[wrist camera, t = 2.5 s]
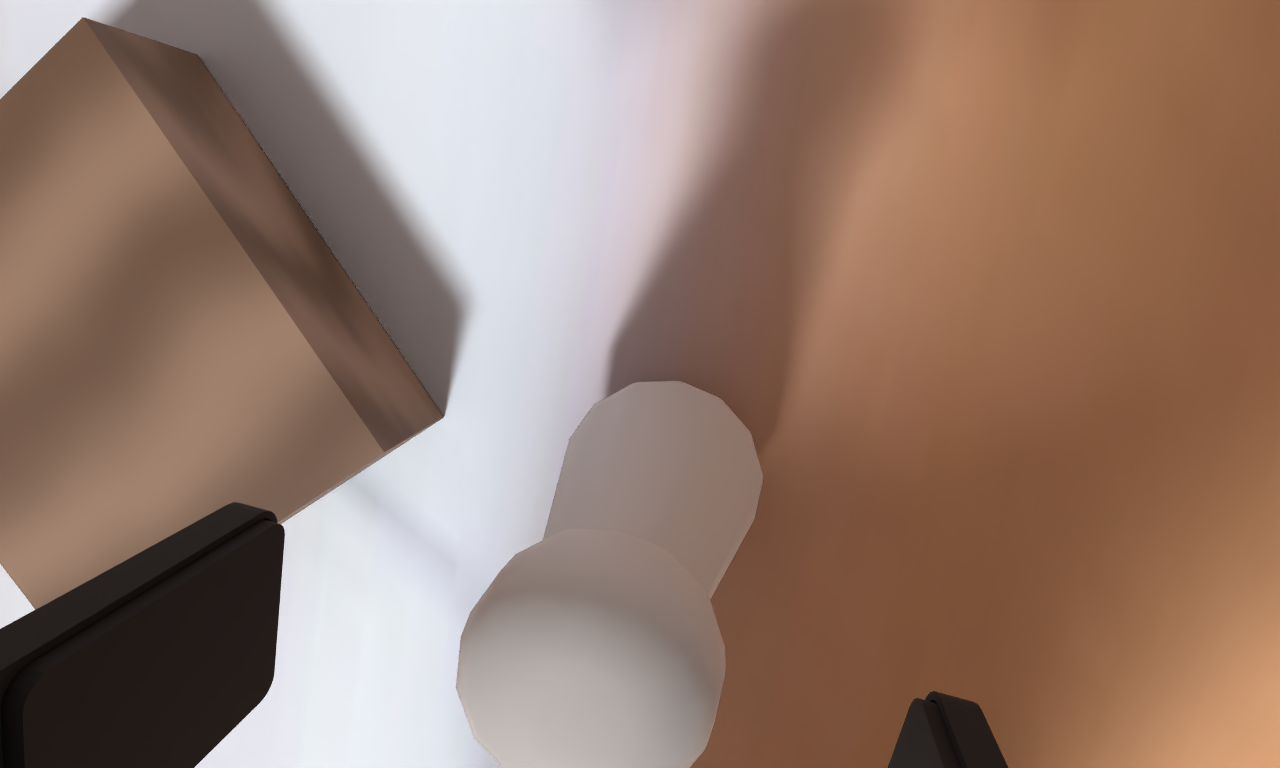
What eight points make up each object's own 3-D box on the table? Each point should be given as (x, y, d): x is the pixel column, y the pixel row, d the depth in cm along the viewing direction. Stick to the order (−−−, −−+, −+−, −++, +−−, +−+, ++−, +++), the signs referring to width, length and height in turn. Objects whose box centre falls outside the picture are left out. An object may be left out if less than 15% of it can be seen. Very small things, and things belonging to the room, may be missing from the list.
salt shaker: (690, 569, 24) (620, 949, 11) (552, 470, 24) (324, 735, 11) (798, 435, 22) (859, 699, 10) (650, 329, 22) (515, 451, 10)
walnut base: (443, 417, 24) (383, 452, 20) (168, 597, 27) (72, 657, 23) (197, 54, 23) (82, 17, 19) (-59, 290, 26) (-202, 299, 22)
